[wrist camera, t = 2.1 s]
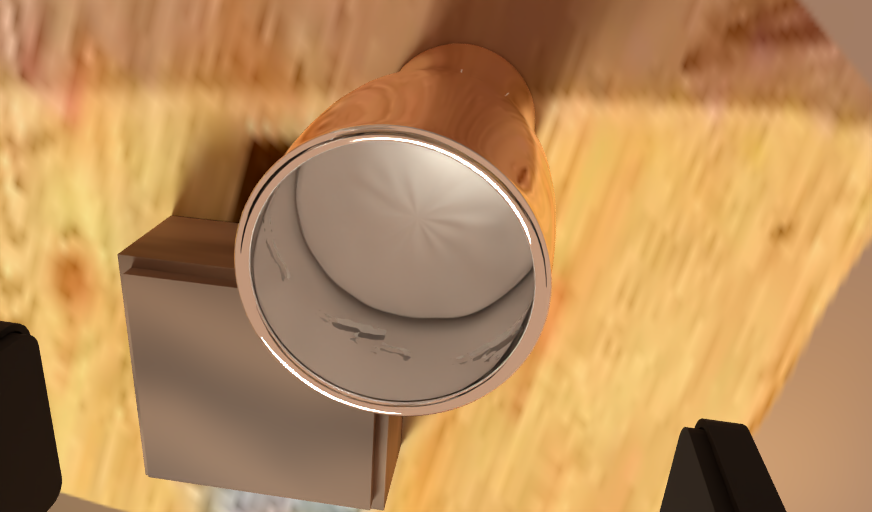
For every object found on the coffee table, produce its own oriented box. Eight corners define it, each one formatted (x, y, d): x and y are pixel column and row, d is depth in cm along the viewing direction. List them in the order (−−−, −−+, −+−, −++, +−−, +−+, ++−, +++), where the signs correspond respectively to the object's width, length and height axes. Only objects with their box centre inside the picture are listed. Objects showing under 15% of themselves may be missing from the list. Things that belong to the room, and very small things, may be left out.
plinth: (171, 215, 31) (109, 260, 26) (413, 243, 30) (392, 295, 25) (189, 415, 35) (139, 484, 31) (400, 445, 34) (380, 520, 30)
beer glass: (536, 211, 29) (540, 444, 15) (371, 196, 29) (233, 405, 16) (557, 37, 26) (586, 129, 12) (374, 24, 27) (209, 98, 13)
